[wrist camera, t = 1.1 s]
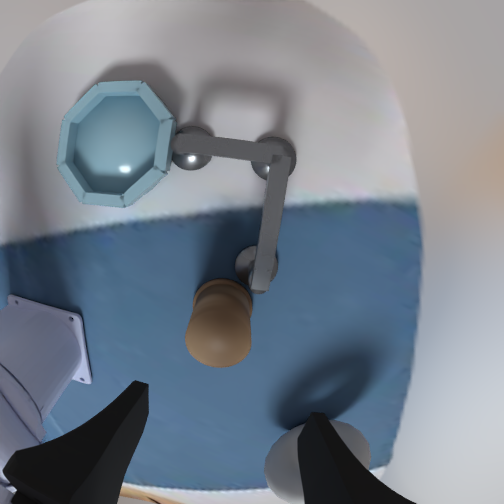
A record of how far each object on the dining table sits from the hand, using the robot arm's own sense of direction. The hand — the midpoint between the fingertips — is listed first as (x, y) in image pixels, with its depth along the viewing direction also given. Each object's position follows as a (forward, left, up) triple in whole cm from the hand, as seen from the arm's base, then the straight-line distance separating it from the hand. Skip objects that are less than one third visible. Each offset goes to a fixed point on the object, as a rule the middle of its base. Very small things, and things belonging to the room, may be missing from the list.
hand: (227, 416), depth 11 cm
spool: (-1, 0, -11) cm, 11 cm away
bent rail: (-2, +7, -11) cm, 13 cm away
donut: (+9, -13, -11) cm, 20 cm away
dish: (-10, +11, -11) cm, 18 cm away
